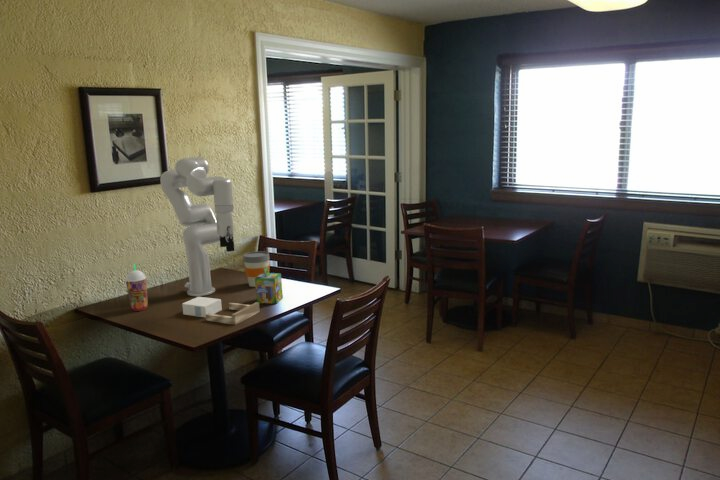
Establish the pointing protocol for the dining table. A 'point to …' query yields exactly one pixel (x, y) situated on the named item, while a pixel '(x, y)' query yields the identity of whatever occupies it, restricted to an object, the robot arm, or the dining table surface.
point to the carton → (201, 306)
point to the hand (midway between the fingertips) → (227, 248)
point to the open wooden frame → (241, 315)
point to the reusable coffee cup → (255, 265)
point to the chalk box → (268, 287)
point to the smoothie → (137, 290)
